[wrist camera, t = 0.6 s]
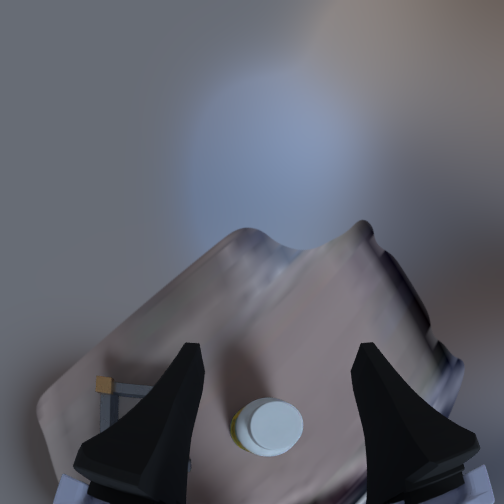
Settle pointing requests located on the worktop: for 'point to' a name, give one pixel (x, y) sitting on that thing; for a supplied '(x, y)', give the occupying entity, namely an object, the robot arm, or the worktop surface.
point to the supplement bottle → (266, 427)
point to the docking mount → (117, 399)
